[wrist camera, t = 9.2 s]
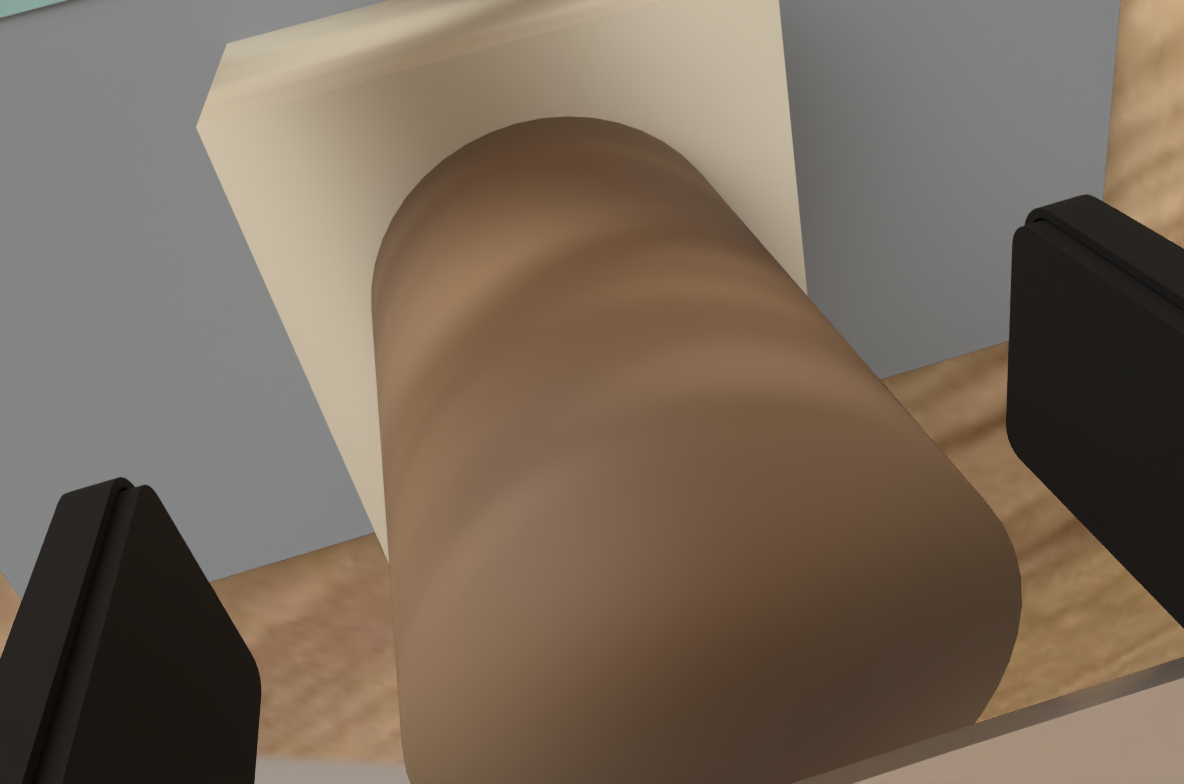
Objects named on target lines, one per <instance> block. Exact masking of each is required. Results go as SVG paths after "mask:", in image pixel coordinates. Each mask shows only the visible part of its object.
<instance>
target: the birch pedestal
mask: <svg viewBox="0 0 1184 784" xmlns="http://www.w3.org/2000/svg"><path fill="white" fill-rule="evenodd" d="M565 116H571V117H588V118H597V119H602V120H607V121H613V122H618V123H621V124H624V125H627V126H630V127H633V128H636V129H638V130H641V131H643V132H645V133H647V134H649V135H651V136H653V137H655V138H657V139H659V140H661V141H663V142H665V143H666V144H667V145H669V146H670V147H672V148H673V149H674V150H676V151H677V152H679V153H680V154H681V155H683V156H684V157H685V158H686V159H687V160H688V161H689V162H690V163H691V164H692V165H693V166H694V167H695V168H696V169H697V170H698V171H699V172H700V173H701V174H702V175H703V176H704V178H705V179H706V180H707V181H708V182H709V183H710V184H711V186H712V187H713V188H714V189H715V190H716V191H717V193H718V194H719V195H720V196H721V197H722V198H723V199H724V201H725V202H726V203H727V204H728V205H729V206H730V207H731V209H732V210H733V211H734V212H735V213H736V214H737V216H738V217H739V218H740V219H741V220H742V221H743V222H744V224H745V225H746V226H747V227H748V228H749V229H750V231H751V232H752V233H753V234H754V235H755V236H756V237H757V239H758V240H759V241H760V242H761V243H762V244H763V245H764V247H765V248H766V249H767V250H768V251H769V252H770V254H771V255H772V256H773V257H774V258H775V259H776V260H777V262H778V263H779V264H780V265H781V266H782V267H783V269H784V270H785V271H786V272H787V273H788V274H789V275H790V277H791V278H792V279H793V280H794V281H795V282H796V283H797V285H798V286H799V287H800V288H801V289H802V290H803V292H804V293H805V294H806V295H807V286H806V276H805V265H804V255H803V245H802V234H801V224H800V214H799V203H798V193H797V183H796V172H795V162H794V152H793V142H792V131H791V121H790V111H789V100H788V90H787V80H786V69H785V59H784V49H783V39H782V28H781V18H780V8H779V0H388V1H384V2H380V3H376V4H373V5H369V6H365V7H362V8H358V9H354V10H350V11H347V12H343V13H339V14H335V15H332V16H328V17H324V18H321V19H317V20H313V21H309V22H306V23H302V24H298V25H294V26H291V27H287V28H283V29H279V30H276V31H272V32H268V33H265V34H261V35H257V36H253V37H250V38H246V39H242V40H238V41H235V42H231V43H227V44H226V47H225V50H224V53H223V55H222V58H221V61H220V63H219V66H218V69H217V72H216V74H215V77H214V80H213V82H212V85H211V88H210V90H209V93H208V96H207V99H206V101H205V104H204V107H203V109H202V112H201V115H200V118H199V120H198V123H197V126H196V128H197V131H198V133H199V135H200V137H201V140H202V142H203V144H204V146H205V149H206V151H207V153H208V156H209V158H210V160H211V162H212V165H213V167H214V169H215V171H216V174H217V176H218V178H219V180H220V183H221V185H222V187H223V189H224V192H225V194H226V196H227V198H228V201H229V203H230V205H231V207H232V210H233V212H234V214H235V217H236V219H237V221H238V223H239V226H240V228H241V230H242V232H243V235H244V237H245V239H246V241H247V244H248V246H249V248H250V250H251V253H252V255H253V257H254V259H255V262H256V264H257V266H258V269H259V271H260V273H261V275H262V278H263V280H264V282H265V284H266V287H267V289H268V291H269V293H270V296H271V298H272V300H273V302H274V305H275V307H276V309H277V311H278V314H279V316H280V318H281V321H282V323H283V325H284V327H285V330H286V332H287V334H288V336H289V339H290V341H291V343H292V345H293V348H294V350H295V352H296V354H297V357H298V359H299V361H300V363H301V366H302V368H303V370H304V372H305V375H306V377H307V379H308V382H309V384H310V386H311V388H312V391H313V393H314V395H315V397H316V400H317V402H318V404H319V406H320V409H321V411H322V413H323V415H324V418H325V420H326V422H327V424H328V427H329V429H330V431H331V434H332V436H333V438H334V440H335V443H336V445H337V447H338V449H339V452H340V454H341V456H342V458H343V461H344V463H345V465H346V467H347V470H348V472H349V474H350V476H351V479H352V481H353V483H354V486H355V488H356V490H357V492H358V495H359V497H360V499H361V501H362V504H363V506H364V508H365V510H366V513H367V515H368V517H369V519H370V522H371V524H372V526H373V528H374V531H375V533H376V535H377V537H378V540H379V542H380V544H381V547H382V549H383V551H384V553H385V556H386V558H387V560H388V562H389V555H388V540H387V526H386V512H385V497H384V483H383V469H382V455H381V440H380V426H379V412H378V397H377V383H376V369H375V355H374V340H373V326H372V312H371V286H372V279H373V273H374V266H375V262H376V258H377V255H378V252H379V249H380V245H381V242H382V239H383V237H384V235H385V233H386V231H387V229H388V227H389V224H390V222H391V220H392V218H393V217H394V215H395V213H396V212H397V210H398V209H399V207H400V206H401V204H402V203H403V201H404V200H405V198H406V197H407V196H408V194H409V193H410V192H411V191H412V190H413V189H414V187H415V186H416V185H417V184H418V183H419V182H420V181H421V179H422V178H423V177H424V176H425V175H426V174H428V173H429V172H430V171H431V170H432V169H433V168H434V167H436V166H437V165H438V164H439V163H440V162H441V161H442V160H444V159H445V158H446V157H448V156H449V155H451V154H452V153H454V152H455V151H457V150H458V149H460V148H461V147H463V146H464V145H466V144H468V143H470V142H472V141H474V140H476V139H478V138H480V137H482V136H484V135H486V134H488V133H490V132H493V131H496V130H499V129H502V128H504V127H507V126H510V125H513V124H516V123H521V122H526V121H531V120H536V119H540V118H552V117H565Z"/></svg>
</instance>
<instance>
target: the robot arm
mask: <svg viewBox="0 0 1184 784" xmlns="http://www.w3.org/2000/svg"><path fill="white" fill-rule="evenodd" d="M1006 430H1007V435H1008V439H1009V442H1010V444H1011V447H1012V448H1013V450H1014V452H1015V454H1016V455H1017V456H1018V457H1019V459H1020V460H1021V461H1022V462H1023V463H1024V464H1025V465H1026V466H1027V467H1028V468H1029V469H1030V470H1031V471H1032V472H1033V473H1034V474H1035V475H1036V476H1037V477H1038V478H1039V479H1040V480H1041V482H1042V483H1043V484H1044V485H1045V486H1046V487H1047V488H1048V489H1049V490H1050V491H1051V492H1052V493H1053V494H1054V495H1055V496H1056V497H1057V498H1058V499H1059V500H1060V501H1061V502H1062V503H1063V504H1064V505H1065V506H1066V507H1067V508H1068V509H1069V510H1070V511H1071V513H1072V514H1073V515H1074V516H1075V517H1076V518H1077V519H1078V520H1079V521H1080V522H1081V523H1082V524H1083V525H1084V526H1085V527H1086V528H1087V529H1088V530H1089V531H1090V532H1091V533H1092V534H1093V535H1094V536H1095V537H1096V538H1097V539H1098V540H1099V541H1100V542H1101V544H1102V545H1103V546H1104V547H1105V548H1106V549H1107V550H1108V551H1109V552H1110V553H1111V554H1112V555H1113V556H1114V557H1115V558H1116V559H1117V560H1118V561H1119V562H1120V563H1121V564H1122V565H1123V566H1124V567H1125V568H1126V569H1127V570H1128V571H1129V572H1130V573H1131V575H1132V576H1133V577H1134V578H1135V579H1136V580H1137V581H1138V582H1139V583H1140V584H1141V585H1142V586H1143V587H1144V588H1145V589H1146V590H1147V591H1148V592H1149V593H1150V594H1151V595H1152V596H1153V597H1154V598H1155V599H1156V600H1157V601H1158V602H1159V603H1160V604H1161V606H1162V607H1163V608H1164V609H1165V610H1166V611H1167V612H1168V613H1169V614H1170V615H1171V616H1172V617H1173V618H1174V619H1175V620H1176V621H1177V622H1178V623H1179V624H1180V625H1181V626H1182V627H1183V628H1184V249H1183V248H1181V247H1180V246H1178V245H1176V244H1175V243H1173V242H1171V241H1170V240H1168V239H1166V238H1164V237H1163V236H1161V235H1159V234H1158V233H1156V232H1154V231H1152V230H1151V229H1149V228H1147V227H1146V226H1144V225H1142V224H1141V223H1139V222H1137V221H1135V220H1134V219H1132V218H1130V217H1129V216H1127V215H1125V214H1123V213H1122V212H1120V211H1118V210H1117V209H1115V208H1113V207H1112V206H1110V205H1108V204H1106V203H1105V202H1103V201H1101V200H1100V199H1098V198H1096V197H1094V196H1091V195H1088V194H1085V195H1080V196H1076V197H1073V198H1069V199H1066V200H1063V201H1059V202H1056V203H1052V204H1049V205H1046V206H1042V207H1039V208H1035V209H1033V210H1032V211H1031V212H1030V213H1029V214H1028V216H1027V218H1026V220H1025V225H1024V226H1022V227H1019V228H1018V229H1017V230H1016V231H1015V233H1014V235H1013V241H1012V263H1011V293H1010V322H1009V352H1008V382H1007V411H1006ZM260 703H261V681H260V675H259V671H258V668H257V665H256V662H255V660H254V658H253V656H252V654H251V652H250V651H249V649H248V647H247V646H246V644H245V642H244V641H243V639H242V637H241V635H240V634H239V632H238V630H237V629H236V627H235V625H234V624H233V622H232V620H231V619H230V617H229V615H228V613H227V612H226V610H225V608H224V607H223V605H222V603H221V602H220V600H219V598H218V596H217V595H216V593H215V591H214V590H213V588H212V586H211V585H210V583H209V581H208V580H207V578H206V576H205V574H204V573H203V571H202V569H201V568H200V566H199V564H198V563H197V561H196V559H195V558H194V556H193V554H192V552H191V551H190V549H189V547H188V546H187V544H186V542H185V541H184V539H183V537H182V536H181V534H180V532H179V530H178V529H177V527H176V525H175V524H174V522H173V520H172V519H171V517H170V515H169V513H168V512H167V510H166V508H165V507H164V505H163V503H162V502H161V500H160V498H159V497H158V495H157V494H156V492H155V491H154V489H152V488H151V487H150V486H149V485H141V486H138V487H135V486H134V485H133V484H132V483H131V482H130V481H129V480H128V479H126V478H123V477H118V478H115V479H111V480H108V481H105V482H101V483H98V484H94V485H91V486H87V487H84V488H81V489H77V490H74V491H70V492H67V493H65V494H63V495H62V496H61V498H60V500H59V501H58V504H57V506H56V509H55V512H54V515H53V517H52V520H51V523H50V525H49V528H48V531H47V534H46V536H45V539H44V542H43V544H42V547H41V550H40V553H39V555H38V558H37V561H36V563H35V566H34V569H33V572H32V574H31V577H30V580H29V582H28V585H27V588H26V591H25V593H24V596H23V599H22V601H21V604H20V607H19V610H18V612H17V615H16V618H15V620H14V623H13V626H12V629H11V631H10V634H9V637H8V639H7V642H6V645H5V648H4V650H3V653H2V656H1V658H0V784H254V780H255V767H256V754H257V742H258V729H259V716H260ZM792 784H1184V657H1182V658H1179V659H1176V660H1173V661H1170V662H1167V663H1163V664H1160V665H1157V666H1154V667H1151V668H1148V669H1145V670H1142V671H1138V672H1135V673H1132V674H1129V675H1126V676H1123V677H1120V678H1117V679H1114V680H1110V681H1107V682H1104V683H1101V684H1098V685H1095V686H1092V687H1089V688H1085V689H1082V690H1079V691H1076V692H1073V693H1070V694H1067V695H1064V696H1060V697H1057V698H1054V699H1051V700H1048V701H1045V702H1042V703H1039V704H1036V705H1032V706H1029V707H1026V708H1023V709H1020V710H1017V711H1014V712H1011V713H1007V714H1004V715H1001V716H998V717H995V718H992V719H989V720H986V721H982V722H979V723H976V724H973V725H970V726H967V727H964V728H961V729H958V730H955V731H952V732H949V733H946V734H942V735H939V736H936V737H933V738H930V739H927V740H924V741H921V742H918V743H915V744H912V745H909V746H906V747H903V748H899V749H896V750H893V751H890V752H887V753H884V754H881V755H878V756H875V757H872V758H869V759H866V760H863V761H860V762H856V763H853V764H850V765H847V766H844V767H841V768H838V769H835V770H832V771H829V772H826V773H823V774H820V775H817V776H813V777H810V778H807V779H804V780H801V781H798V782H795V783H792Z"/></svg>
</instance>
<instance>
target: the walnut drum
mask: <svg viewBox="0 0 1184 784" xmlns="http://www.w3.org/2000/svg"><path fill="white" fill-rule="evenodd" d="M371 312H372V326H373V340H374V355H375V369H376V383H377V397H378V412H379V426H380V440H381V455H382V469H383V483H384V497H385V512H386V526H387V540H388V555H389V569H390V583H391V597H392V612H393V626H394V640H395V655H396V669H397V683H398V697H399V712H400V726H401V740H402V748H403V754H404V760H405V766H406V772H407V774H408V778H409V780H410V783H411V784H792V783H795V782H798V781H801V780H804V779H807V778H810V777H813V776H817V775H820V774H823V773H826V772H829V771H832V770H835V769H838V768H841V767H844V766H847V765H850V764H853V763H856V762H860V761H863V760H866V759H869V758H872V757H875V756H878V755H881V754H884V753H887V752H890V751H893V750H896V749H899V748H903V747H906V746H909V745H912V744H915V743H918V742H921V741H924V740H927V739H930V738H933V737H936V736H939V735H942V734H946V733H949V732H952V731H955V730H958V729H961V728H964V727H967V726H970V725H973V724H974V723H975V722H976V720H977V719H978V718H979V717H980V715H981V714H982V712H983V710H984V709H985V707H986V705H987V704H988V702H989V701H990V699H991V697H992V696H993V694H994V692H995V691H996V689H997V687H998V685H999V683H1000V681H1001V678H1002V676H1003V674H1004V672H1005V670H1006V667H1007V665H1008V663H1009V661H1010V657H1011V654H1012V651H1013V647H1014V644H1015V641H1016V637H1017V634H1018V628H1019V621H1020V614H1021V607H1022V598H1021V576H1020V572H1019V567H1018V563H1017V559H1016V554H1015V550H1014V548H1013V546H1012V544H1011V541H1010V539H1009V537H1008V535H1007V533H1006V530H1005V528H1004V526H1003V524H1002V523H1001V521H1000V520H999V519H998V517H997V516H996V515H995V513H994V512H993V511H992V509H991V508H990V507H989V505H988V504H987V502H986V501H985V500H984V499H983V498H982V497H981V495H980V494H979V493H978V492H977V491H976V490H975V488H974V487H973V486H972V485H971V484H970V483H969V482H968V480H967V479H966V478H965V477H964V476H963V475H962V473H961V472H960V471H959V470H958V469H957V468H956V467H955V465H954V464H953V463H952V462H951V461H950V460H949V459H948V457H947V456H946V455H945V454H944V453H943V452H942V450H941V449H940V448H939V447H938V446H937V445H936V444H935V442H934V441H933V440H932V439H931V438H930V437H929V435H928V434H927V433H926V432H925V431H924V430H923V429H922V427H921V426H920V425H919V424H918V423H917V422H916V421H915V419H914V418H913V417H912V416H911V415H910V414H909V412H908V411H907V410H906V409H905V408H904V407H903V406H902V404H901V403H900V402H899V401H898V400H897V399H896V397H895V396H894V395H893V394H892V393H891V392H890V391H889V389H888V388H887V387H886V386H885V385H884V384H883V383H882V381H881V380H880V379H879V378H878V377H877V376H876V374H875V373H874V372H873V371H872V370H871V369H870V368H869V366H868V365H867V364H866V363H865V362H864V361H863V359H862V358H861V357H860V356H859V355H858V354H857V353H856V351H855V350H854V349H853V348H852V347H851V346H850V345H849V343H848V342H847V341H846V340H845V339H844V338H843V336H842V335H841V334H840V333H839V332H838V331H837V330H836V328H835V327H834V326H833V325H832V324H831V323H830V321H829V320H828V319H827V318H826V317H825V316H824V315H823V313H822V312H821V311H820V310H819V309H818V308H817V307H816V305H815V304H814V303H813V302H812V301H811V300H810V298H809V297H808V296H807V295H806V294H805V293H804V292H803V290H802V289H801V288H800V287H799V286H798V285H797V283H796V282H795V281H794V280H793V279H792V278H791V277H790V275H789V274H788V273H787V272H786V271H785V270H784V269H783V267H782V266H781V265H780V264H779V263H778V262H777V260H776V259H775V258H774V257H773V256H772V255H771V254H770V252H769V251H768V250H767V249H766V248H765V247H764V245H763V244H762V243H761V242H760V241H759V240H758V239H757V237H756V236H755V235H754V234H753V233H752V232H751V231H750V229H749V228H748V227H747V226H746V225H745V224H744V222H743V221H742V220H741V219H740V218H739V217H738V216H737V214H736V213H735V212H734V211H733V210H732V209H731V207H730V206H729V205H728V204H727V203H726V202H725V201H724V199H723V198H722V197H721V196H720V195H719V194H718V193H717V191H716V190H715V189H714V188H713V187H712V186H711V184H710V183H709V182H708V181H707V180H706V179H705V178H704V176H703V175H702V174H701V173H700V172H699V171H698V170H697V169H696V168H695V167H694V166H693V165H692V164H691V163H690V162H689V161H688V160H687V159H686V158H685V157H684V156H683V155H681V154H680V153H679V152H677V151H676V150H674V149H673V148H672V147H670V146H669V145H667V144H666V143H665V142H663V141H661V140H659V139H657V138H655V137H653V136H651V135H649V134H647V133H645V132H643V131H641V130H638V129H636V128H633V127H630V126H627V125H624V124H621V123H618V122H613V121H607V120H602V119H597V118H588V117H571V116H565V117H552V118H540V119H536V120H531V121H526V122H521V123H516V124H513V125H510V126H507V127H504V128H502V129H499V130H496V131H493V132H490V133H488V134H486V135H484V136H482V137H480V138H478V139H476V140H474V141H472V142H470V143H468V144H466V145H464V146H463V147H461V148H460V149H458V150H457V151H455V152H454V153H452V154H451V155H449V156H448V157H446V158H445V159H444V160H442V161H441V162H440V163H439V164H438V165H437V166H436V167H434V168H433V169H432V170H431V171H430V172H429V173H428V174H426V175H425V176H424V177H423V178H422V179H421V181H420V182H419V183H418V184H417V185H416V186H415V187H414V189H413V190H412V191H411V192H410V193H409V194H408V196H407V197H406V198H405V200H404V201H403V203H402V204H401V206H400V207H399V209H398V210H397V212H396V213H395V215H394V217H393V218H392V220H391V222H390V224H389V227H388V229H387V231H386V233H385V235H384V237H383V239H382V242H381V245H380V249H379V252H378V255H377V258H376V262H375V266H374V273H373V279H372V286H371Z"/></svg>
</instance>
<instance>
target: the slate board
mask: <svg viewBox="0 0 1184 784" xmlns="http://www.w3.org/2000/svg"><path fill="white" fill-rule="evenodd" d="M384 1H388V0H0V571H1V573H2V574H3V575H4V577H5V578H6V579H7V581H8V582H9V584H10V585H11V586H12V588H13V589H14V590H15V592H16V593H17V594H18V596H19V597H20V598H21V600H22V599H23V596H24V593H25V591H26V588H27V585H28V582H29V580H30V577H31V574H32V572H33V569H34V566H35V563H36V561H37V558H38V555H39V553H40V550H41V547H42V544H43V542H44V539H45V536H46V534H47V531H48V528H49V525H50V523H51V520H52V517H53V515H54V512H55V509H56V506H57V504H58V501H59V500H60V498H61V496H62V495H63V494H65V493H67V492H70V491H74V490H77V489H81V488H84V487H87V486H91V485H94V484H98V483H101V482H105V481H108V480H111V479H115V478H118V477H123V478H126V479H128V480H129V481H130V482H131V483H132V484H133V485H134V486H135V487H138V486H141V485H149V486H150V487H151V488H152V489H154V491H155V492H156V494H157V495H158V497H159V498H160V500H161V502H162V503H163V505H164V507H165V508H166V510H167V512H168V513H169V515H170V517H171V519H172V520H173V522H174V524H175V525H176V527H177V529H178V530H179V532H180V534H181V536H182V537H183V539H184V541H185V542H186V544H187V546H188V547H189V549H190V551H191V552H192V554H193V556H194V558H195V559H196V561H197V563H198V564H199V566H200V568H201V569H202V571H203V573H204V574H205V576H206V578H207V580H208V581H209V582H212V581H215V580H218V579H222V578H225V577H228V576H231V575H235V574H238V573H241V572H245V571H248V570H251V569H255V568H258V567H261V566H265V565H268V564H271V563H275V562H278V561H281V560H285V559H288V558H291V557H294V556H298V555H301V554H304V553H308V552H311V551H314V550H318V549H321V548H324V547H328V546H331V545H334V544H338V543H341V542H344V541H348V540H351V539H354V538H357V537H361V536H364V535H367V534H371V533H374V532H375V531H374V528H373V526H372V524H371V522H370V519H369V517H368V515H367V513H366V510H365V508H364V506H363V504H362V501H361V499H360V497H359V495H358V492H357V490H356V488H355V486H354V483H353V481H352V479H351V476H350V474H349V472H348V470H347V467H346V465H345V463H344V461H343V458H342V456H341V454H340V452H339V449H338V447H337V445H336V443H335V440H334V438H333V436H332V434H331V431H330V429H329V427H328V424H327V422H326V420H325V418H324V415H323V413H322V411H321V409H320V406H319V404H318V402H317V400H316V397H315V395H314V393H313V391H312V388H311V386H310V384H309V382H308V379H307V377H306V375H305V372H304V370H303V368H302V366H301V363H300V361H299V359H298V357H297V354H296V352H295V350H294V348H293V345H292V343H291V341H290V339H289V336H288V334H287V332H286V330H285V327H284V325H283V323H282V321H281V318H280V316H279V314H278V311H277V309H276V307H275V305H274V302H273V300H272V298H271V296H270V293H269V291H268V289H267V287H266V284H265V282H264V280H263V278H262V275H261V273H260V271H259V269H258V266H257V264H256V262H255V259H254V257H253V255H252V253H251V250H250V248H249V246H248V244H247V241H246V239H245V237H244V235H243V232H242V230H241V228H240V226H239V223H238V221H237V219H236V217H235V214H234V212H233V210H232V207H231V205H230V203H229V201H228V198H227V196H226V194H225V192H224V189H223V187H222V185H221V183H220V180H219V178H218V176H217V174H216V171H215V169H214V167H213V165H212V162H211V160H210V158H209V156H208V153H207V151H206V149H205V146H204V144H203V142H202V140H201V137H200V135H199V133H198V131H197V128H196V126H197V123H198V120H199V118H200V115H201V112H202V109H203V107H204V104H205V101H206V99H207V96H208V93H209V90H210V88H211V85H212V82H213V80H214V77H215V74H216V72H217V69H218V66H219V63H220V61H221V58H222V55H223V53H224V50H225V47H226V44H227V43H231V42H235V41H238V40H242V39H246V38H250V37H253V36H257V35H261V34H265V33H268V32H272V31H276V30H279V29H283V28H287V27H291V26H294V25H298V24H302V23H306V22H309V21H313V20H317V19H321V18H324V17H328V16H332V15H335V14H339V13H343V12H347V11H350V10H354V9H358V8H362V7H365V6H369V5H373V4H376V3H380V2H384ZM1120 2H1121V0H779V8H780V18H781V28H782V39H783V49H784V59H785V69H786V80H787V90H788V100H789V111H790V121H791V131H792V142H793V152H794V162H795V172H796V183H797V193H798V203H799V214H800V224H801V234H802V245H803V255H804V265H805V276H806V286H807V296H808V297H809V298H810V300H811V301H812V302H813V303H814V304H815V305H816V307H817V308H818V309H819V310H820V311H821V312H822V313H823V315H824V316H825V317H826V318H827V319H828V320H829V321H830V323H831V324H832V325H833V326H834V327H835V328H836V330H837V331H838V332H839V333H840V334H841V335H842V336H843V338H844V339H845V340H846V341H847V342H848V343H849V345H850V346H851V347H852V348H853V349H854V350H855V351H856V353H857V354H858V355H859V356H860V357H861V358H862V359H863V361H864V362H865V363H866V364H867V365H868V366H869V368H870V369H871V370H872V371H873V372H874V373H875V374H876V376H877V377H878V378H879V379H880V380H881V379H885V378H888V377H891V376H894V375H898V374H901V373H904V372H908V371H911V370H914V369H918V368H921V367H924V366H928V365H931V364H934V363H938V362H941V361H944V360H948V359H951V358H954V357H957V356H961V355H964V354H967V353H971V352H974V351H977V350H981V349H984V348H987V347H991V346H994V345H997V344H1001V343H1004V342H1007V341H1009V322H1010V293H1011V263H1012V241H1013V235H1014V233H1015V231H1016V230H1017V229H1018V228H1019V227H1022V226H1024V225H1025V220H1026V218H1027V216H1028V214H1029V213H1030V212H1031V211H1032V210H1033V209H1035V208H1039V207H1042V206H1046V205H1049V204H1052V203H1056V202H1059V201H1063V200H1066V199H1069V198H1073V197H1076V196H1080V195H1085V194H1088V195H1091V196H1094V197H1096V198H1098V199H1100V200H1101V201H1103V195H1104V183H1105V172H1106V161H1107V149H1108V138H1109V127H1110V115H1111V104H1112V92H1113V81H1114V70H1115V58H1116V47H1117V36H1118V24H1119V13H1120Z"/></svg>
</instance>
